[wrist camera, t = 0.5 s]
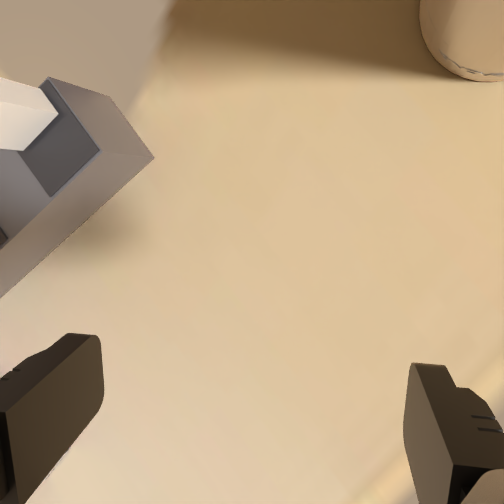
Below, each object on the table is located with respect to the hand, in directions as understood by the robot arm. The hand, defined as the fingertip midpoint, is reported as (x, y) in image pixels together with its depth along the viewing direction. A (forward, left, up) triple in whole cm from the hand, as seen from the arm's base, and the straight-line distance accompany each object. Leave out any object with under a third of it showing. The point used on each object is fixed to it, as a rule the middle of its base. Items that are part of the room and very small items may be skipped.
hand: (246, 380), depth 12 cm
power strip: (+8, -24, -22) cm, 34 cm away
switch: (-1, -20, -15) cm, 25 cm away
